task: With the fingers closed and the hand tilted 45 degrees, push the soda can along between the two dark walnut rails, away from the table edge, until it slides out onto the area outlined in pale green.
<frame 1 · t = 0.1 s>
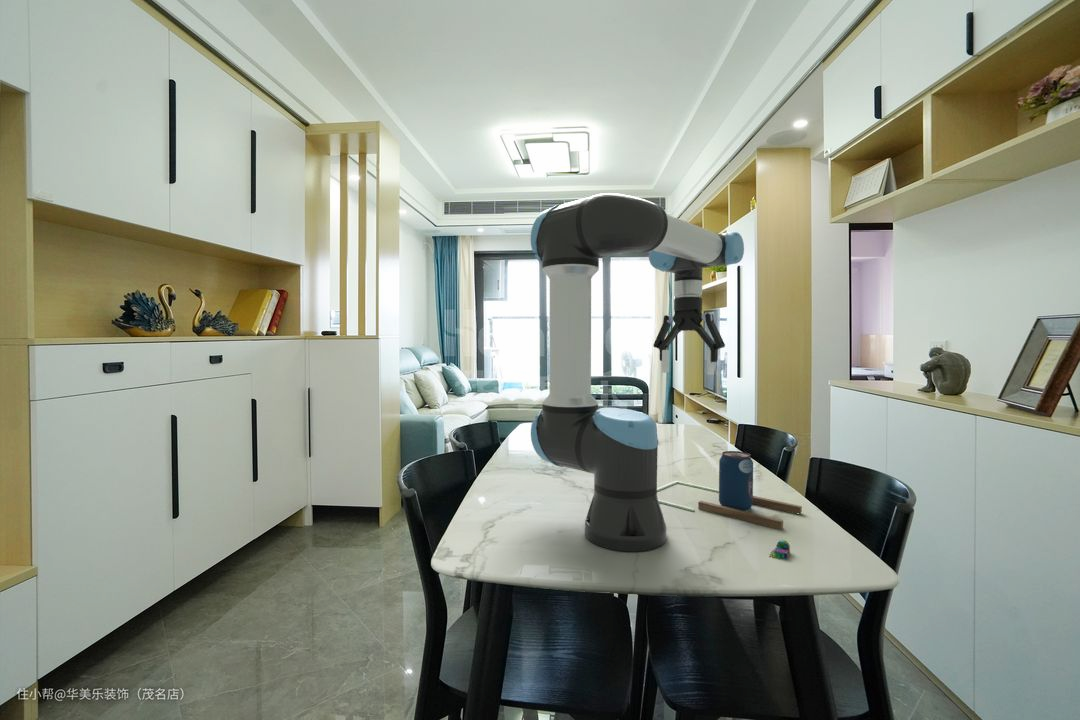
hand: (687, 373, 134), 28 cm above the table, tool pointing down, fingers open, 13 cm apart
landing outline: (685, 495, 114), on the table
multicolored toy figure: (782, 559, 82), on the table
walnut rails: (749, 510, 103), on the table
soda can: (735, 508, 106), on the table
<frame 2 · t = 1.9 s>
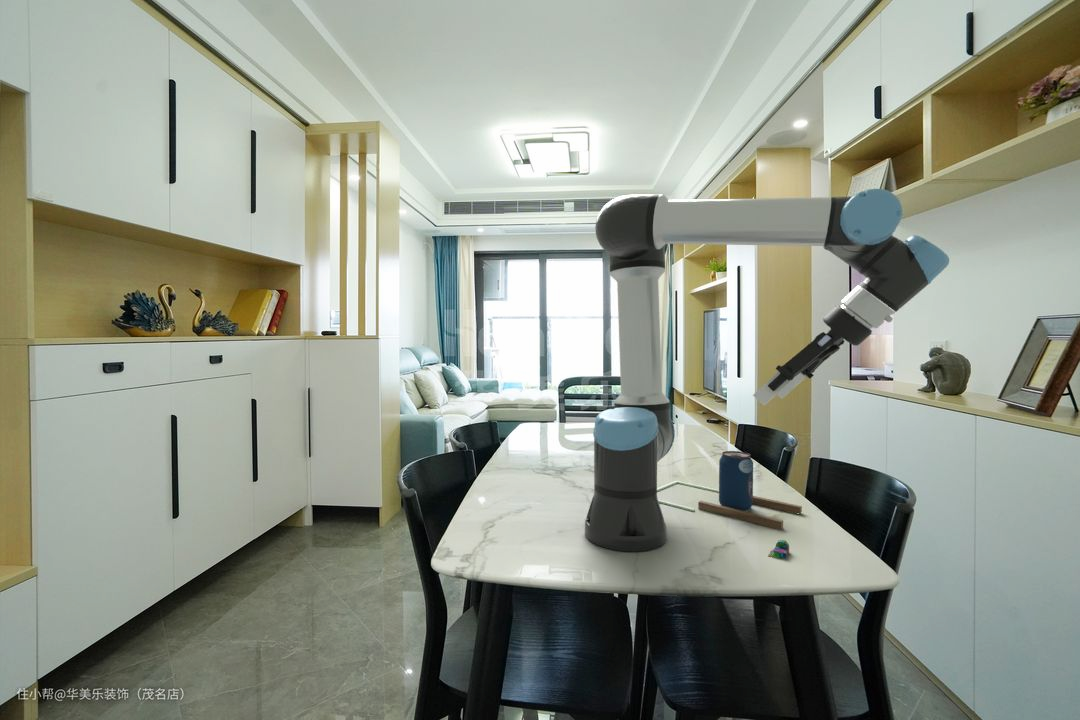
hand: (768, 397, 96), 25 cm above the table, tool tilted 45°, fingers open, 13 cm apart
nothing on the table moved.
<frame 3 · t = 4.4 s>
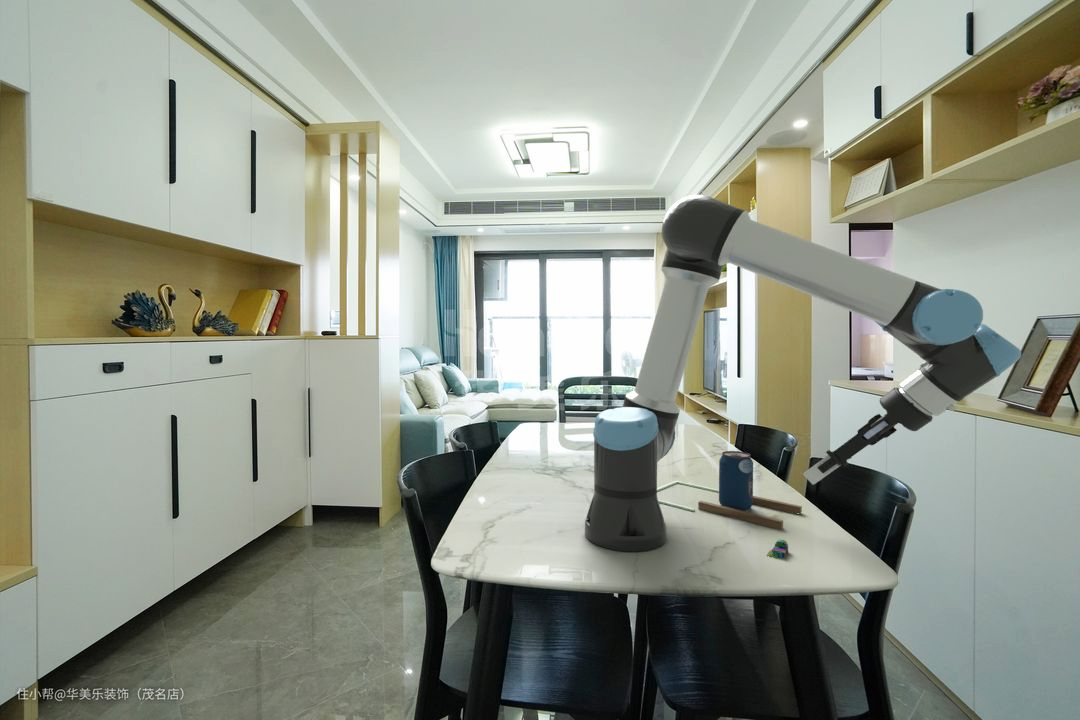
hand: (808, 478, 95), 9 cm above the table, tool tilted 45°, fingers closed
nothing on the table moved.
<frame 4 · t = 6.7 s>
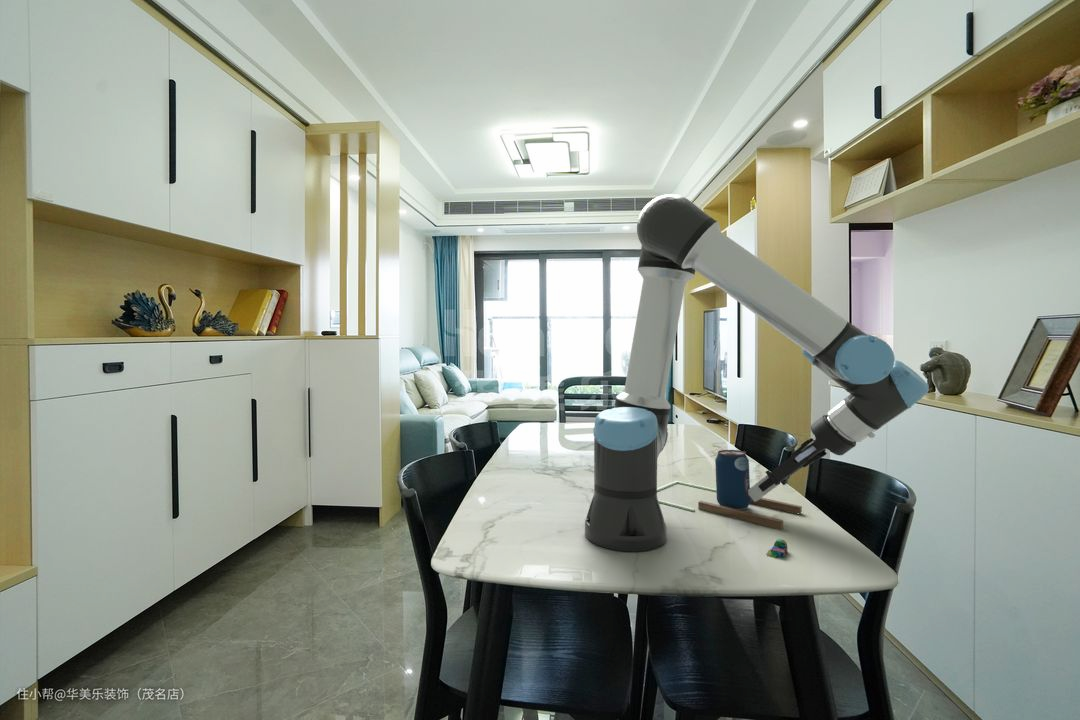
hand: (751, 495, 104), 3 cm above the table, tool tilted 45°, fingers closed
soda can: (733, 507, 106), on the table, touching gripper
everything else where it was.
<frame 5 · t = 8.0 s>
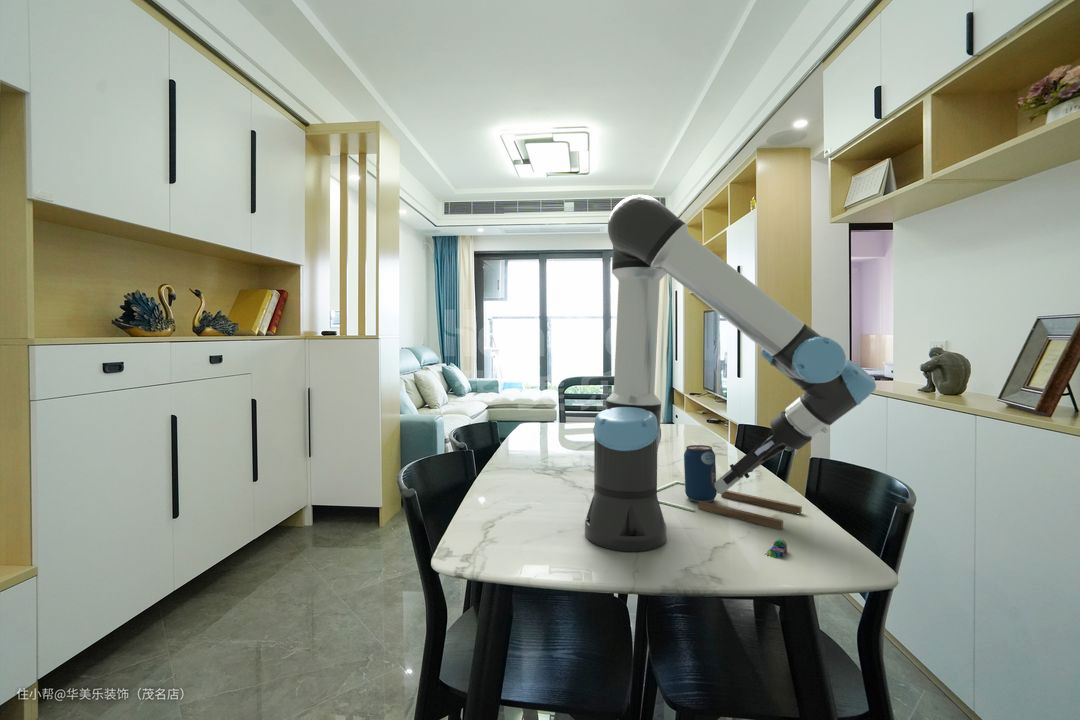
hand: (717, 488, 109), 3 cm above the table, tool tilted 45°, fingers closed
soda can: (701, 499, 111), on the table, touching gripper
everything else where it was.
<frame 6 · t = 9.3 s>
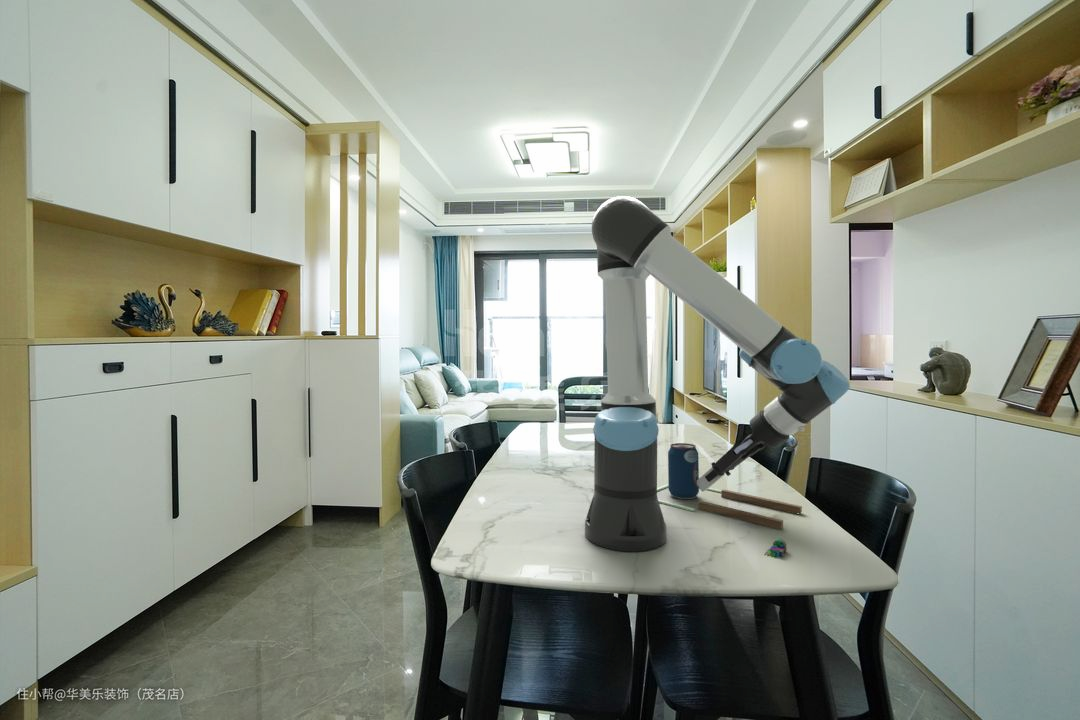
hand: (700, 486, 111), 3 cm above the table, tool tilted 45°, fingers closed
soda can: (683, 496, 114), on the table, touching gripper
everything else where it was.
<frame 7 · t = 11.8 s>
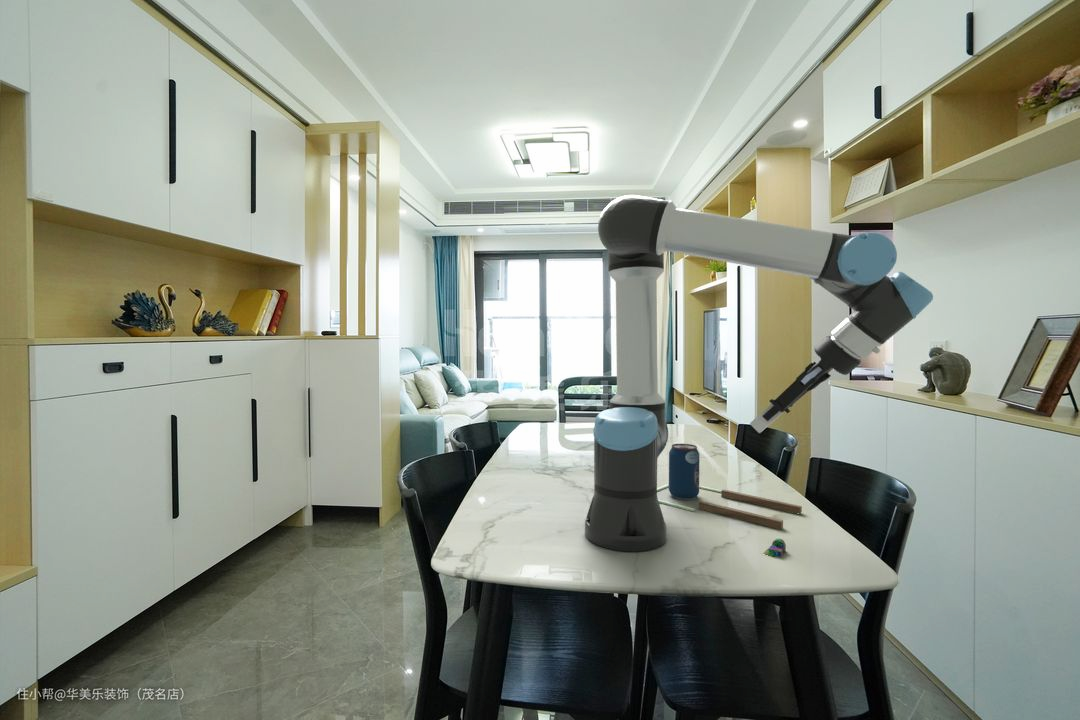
hand: (755, 427, 102), 18 cm above the table, tool tilted 45°, fingers closed
soda can: (683, 497, 114), on the table
everything else where it was.
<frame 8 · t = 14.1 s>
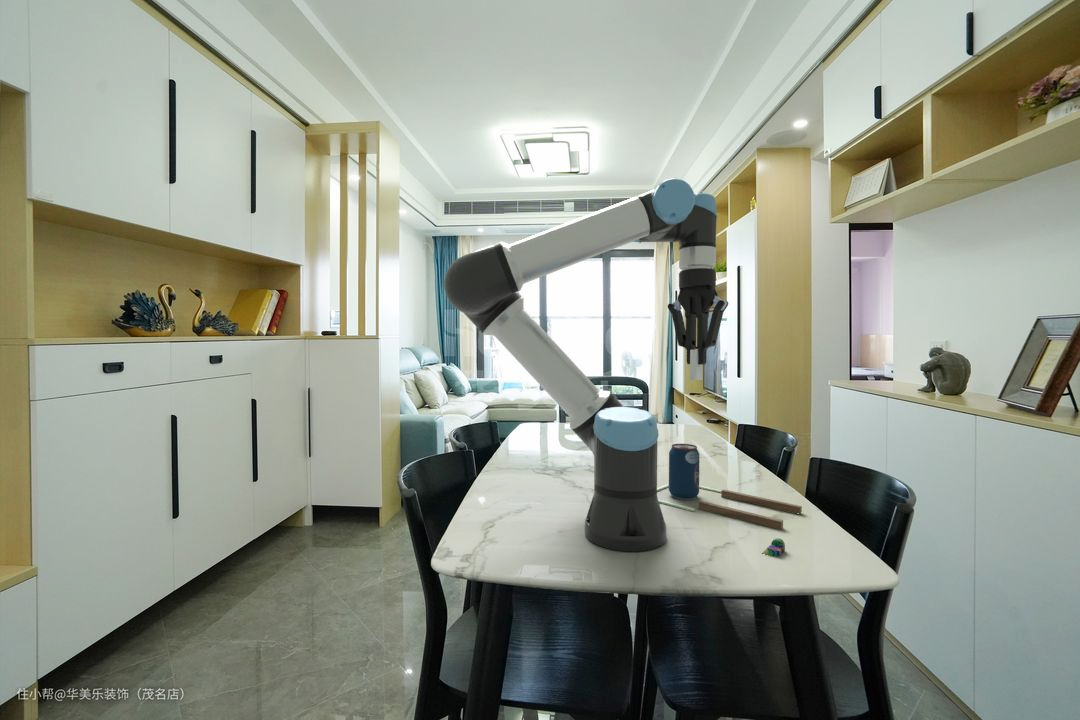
hand: (696, 379, 103), 28 cm above the table, tool pointing down, fingers closed
at the end: soda can inside the target area (0.5 cm from its centre), on the table; soda can tilted 0° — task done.
